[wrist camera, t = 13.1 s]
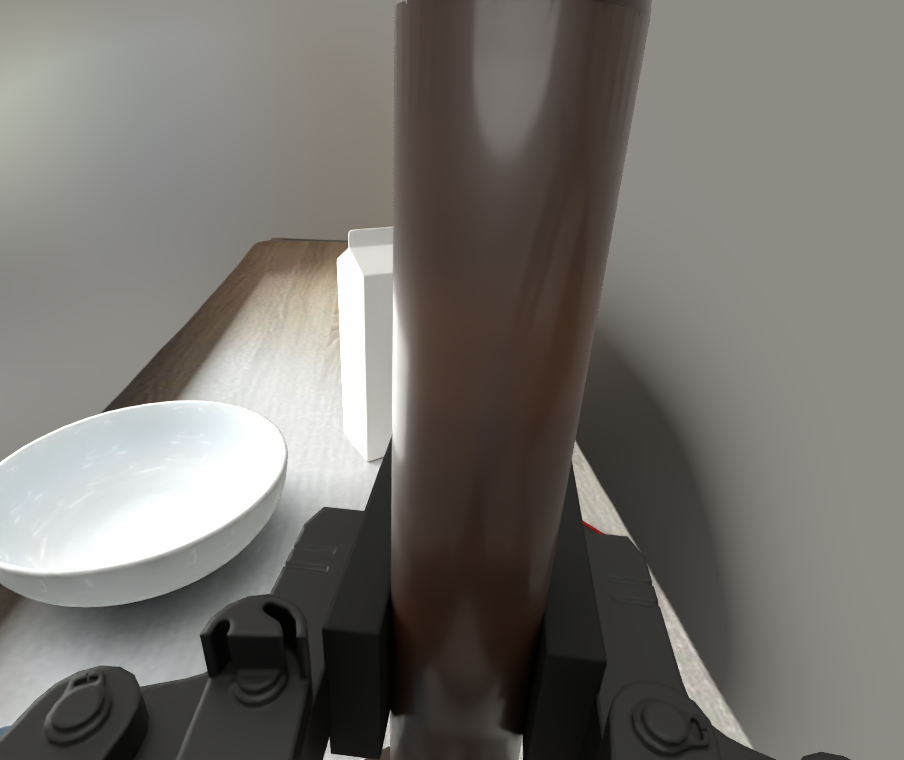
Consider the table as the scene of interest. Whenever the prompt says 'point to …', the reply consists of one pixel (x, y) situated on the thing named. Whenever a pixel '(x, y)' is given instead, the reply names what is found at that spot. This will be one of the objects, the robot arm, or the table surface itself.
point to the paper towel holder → (492, 337)
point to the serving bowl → (136, 501)
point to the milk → (367, 338)
